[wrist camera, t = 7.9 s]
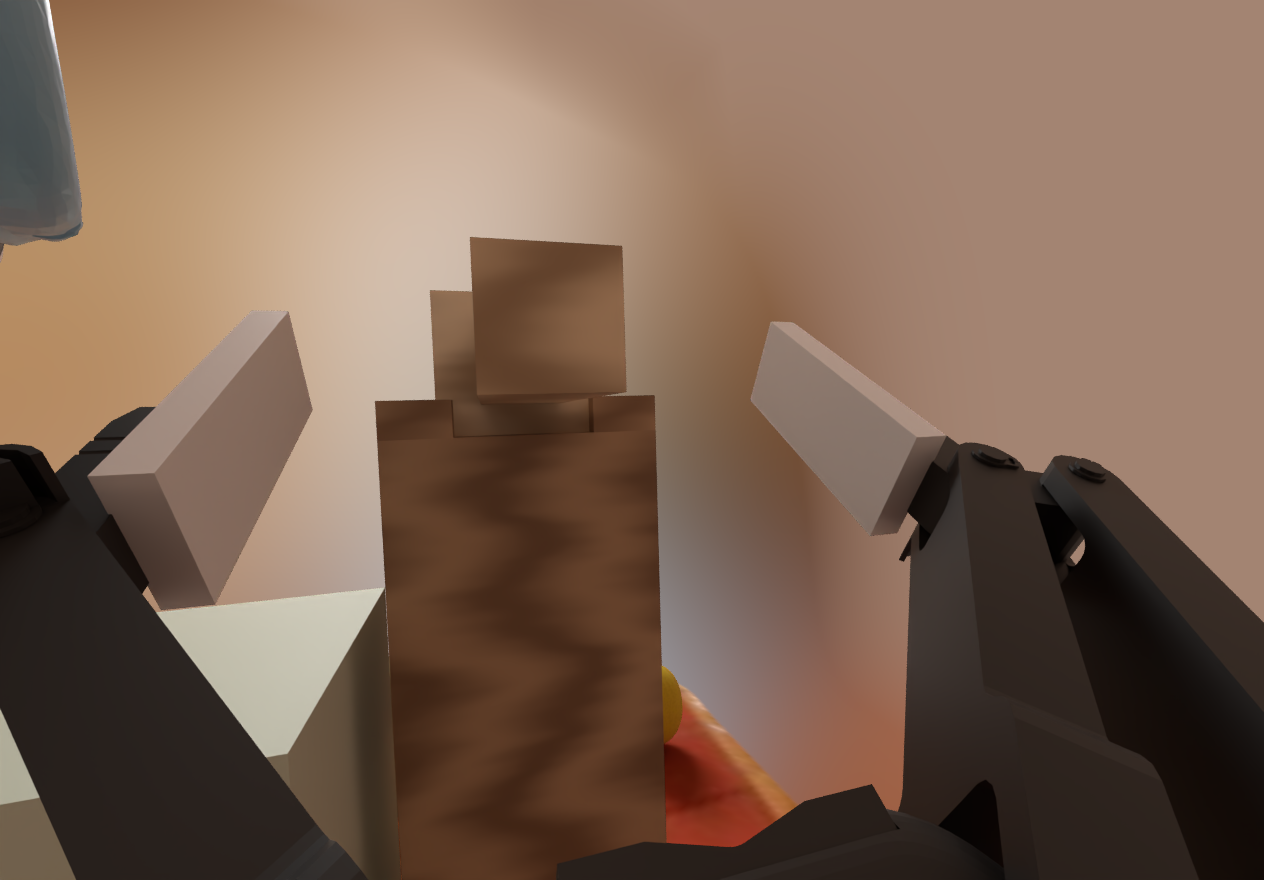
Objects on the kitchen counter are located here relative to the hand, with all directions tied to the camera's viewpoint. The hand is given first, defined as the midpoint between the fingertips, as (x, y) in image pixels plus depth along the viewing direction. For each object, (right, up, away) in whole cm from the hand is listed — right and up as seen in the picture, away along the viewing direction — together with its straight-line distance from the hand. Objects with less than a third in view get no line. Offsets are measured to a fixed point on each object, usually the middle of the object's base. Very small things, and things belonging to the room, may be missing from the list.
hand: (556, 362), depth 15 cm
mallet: (-2, -2, +6) cm, 7 cm away
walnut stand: (-3, -32, +15) cm, 35 cm away
